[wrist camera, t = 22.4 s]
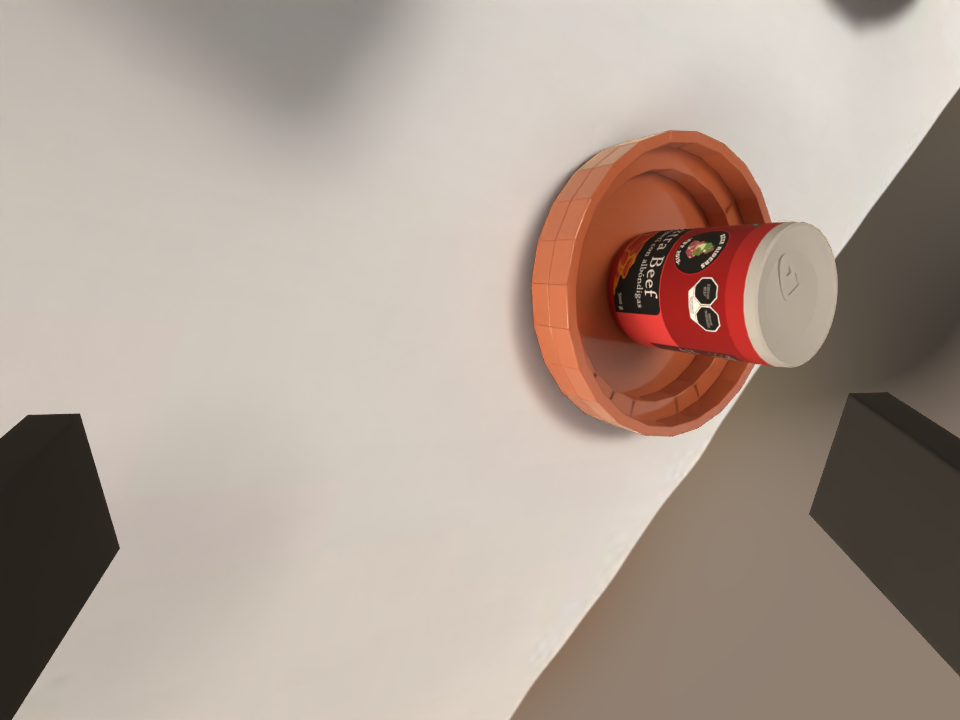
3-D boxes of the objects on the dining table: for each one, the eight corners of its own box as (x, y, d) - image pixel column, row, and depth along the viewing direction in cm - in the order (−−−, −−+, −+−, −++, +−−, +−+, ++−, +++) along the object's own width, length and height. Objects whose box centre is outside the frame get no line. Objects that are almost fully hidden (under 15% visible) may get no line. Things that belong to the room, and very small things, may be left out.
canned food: (643, 207, 40) (803, 189, 30) (699, 284, 44) (855, 289, 34) (584, 294, 38) (733, 304, 29) (646, 367, 42) (796, 396, 33)
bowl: (553, 102, 36) (598, 85, 32) (747, 183, 46) (797, 176, 42) (504, 416, 37) (542, 431, 33) (703, 427, 47) (748, 439, 44)
